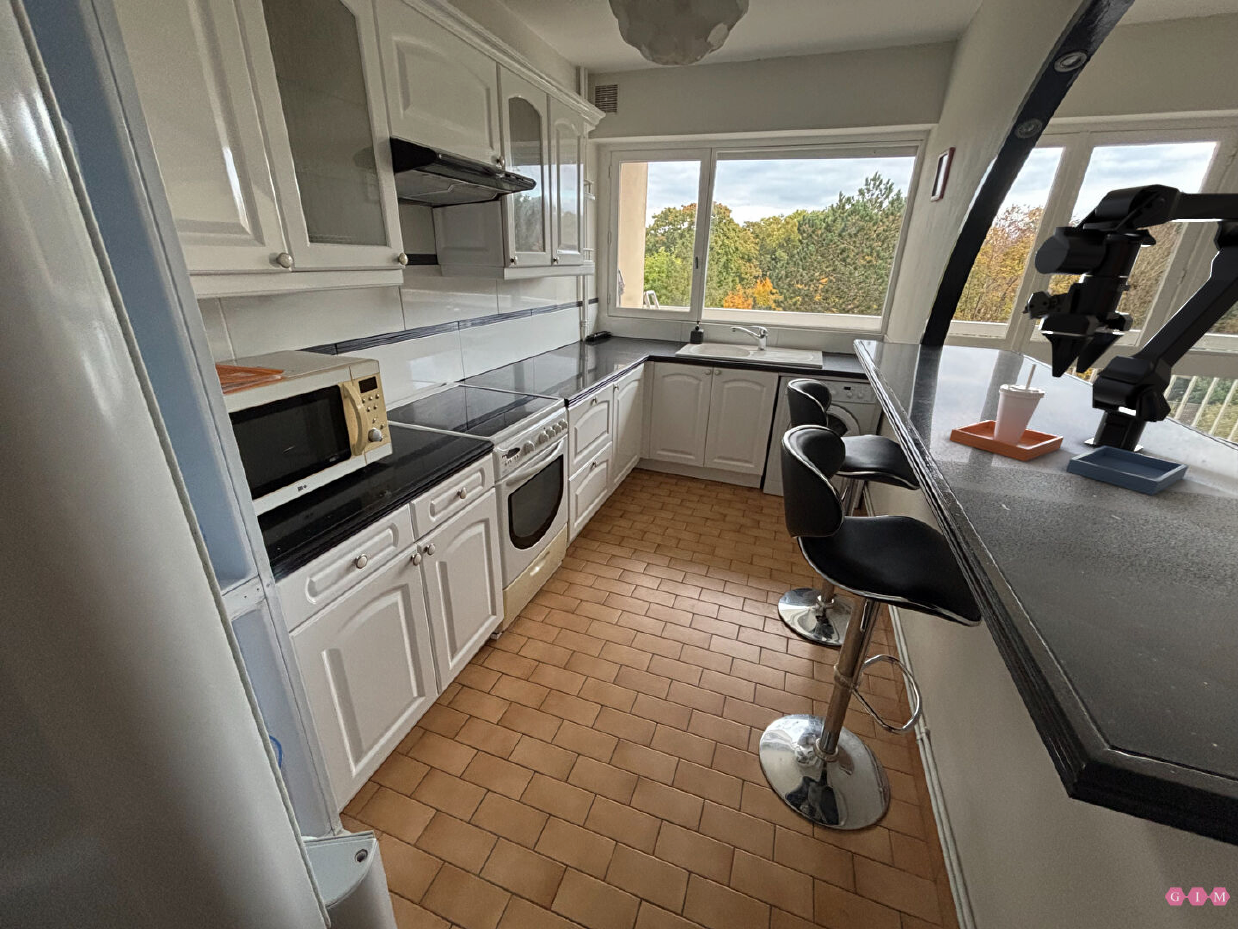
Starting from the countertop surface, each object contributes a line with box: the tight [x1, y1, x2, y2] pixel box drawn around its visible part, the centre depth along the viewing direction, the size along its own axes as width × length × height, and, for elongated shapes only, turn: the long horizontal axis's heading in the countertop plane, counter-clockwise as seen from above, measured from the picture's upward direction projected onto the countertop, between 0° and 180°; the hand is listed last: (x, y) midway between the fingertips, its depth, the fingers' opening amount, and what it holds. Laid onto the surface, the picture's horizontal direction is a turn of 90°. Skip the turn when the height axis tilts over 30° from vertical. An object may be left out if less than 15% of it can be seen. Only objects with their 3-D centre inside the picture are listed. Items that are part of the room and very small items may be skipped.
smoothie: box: [993, 363, 1046, 445], centre depth 89 cm, size 6×6×14 cm
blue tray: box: [1065, 446, 1190, 496], centre depth 79 cm, size 13×10×2 cm
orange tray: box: [948, 419, 1065, 462], centre depth 91 cm, size 13×12×2 cm
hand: (1068, 375), depth 85 cm, fingers open, 9 cm apart
